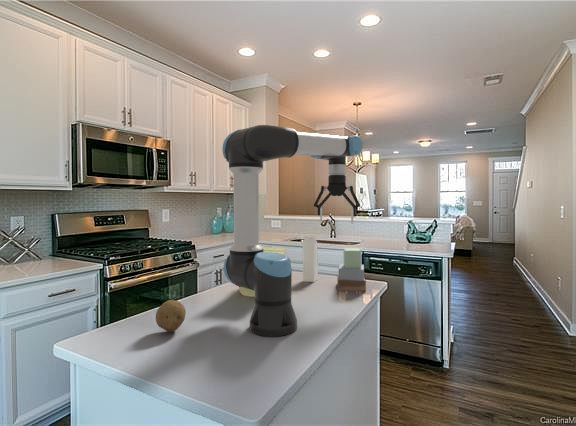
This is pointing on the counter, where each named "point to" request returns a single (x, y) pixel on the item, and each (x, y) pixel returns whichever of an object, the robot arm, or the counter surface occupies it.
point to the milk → (310, 259)
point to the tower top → (351, 273)
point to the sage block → (352, 258)
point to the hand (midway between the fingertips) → (336, 223)
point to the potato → (170, 315)
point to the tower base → (351, 285)
